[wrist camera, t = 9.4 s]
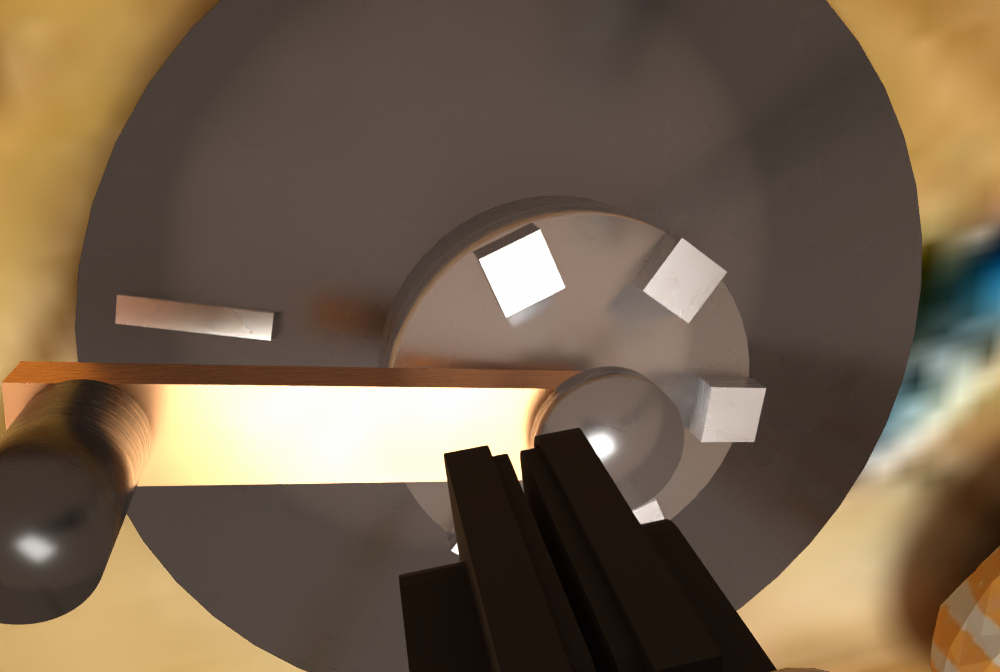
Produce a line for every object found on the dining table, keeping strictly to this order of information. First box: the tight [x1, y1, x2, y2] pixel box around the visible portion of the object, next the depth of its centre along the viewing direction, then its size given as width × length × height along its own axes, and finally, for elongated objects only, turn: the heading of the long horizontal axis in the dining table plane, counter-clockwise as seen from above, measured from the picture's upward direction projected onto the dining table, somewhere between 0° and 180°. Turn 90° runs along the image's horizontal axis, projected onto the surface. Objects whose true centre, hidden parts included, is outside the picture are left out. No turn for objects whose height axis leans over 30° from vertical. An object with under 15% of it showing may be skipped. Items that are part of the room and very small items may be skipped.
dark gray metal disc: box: [75, 0, 922, 672], centre depth 25 cm, size 26×26×1 cm
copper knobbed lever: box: [0, 196, 766, 624], centre depth 19 cm, size 18×10×9 cm, turn 84°
